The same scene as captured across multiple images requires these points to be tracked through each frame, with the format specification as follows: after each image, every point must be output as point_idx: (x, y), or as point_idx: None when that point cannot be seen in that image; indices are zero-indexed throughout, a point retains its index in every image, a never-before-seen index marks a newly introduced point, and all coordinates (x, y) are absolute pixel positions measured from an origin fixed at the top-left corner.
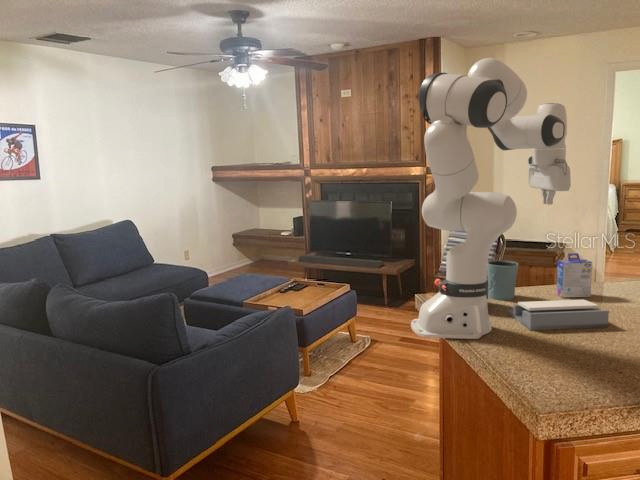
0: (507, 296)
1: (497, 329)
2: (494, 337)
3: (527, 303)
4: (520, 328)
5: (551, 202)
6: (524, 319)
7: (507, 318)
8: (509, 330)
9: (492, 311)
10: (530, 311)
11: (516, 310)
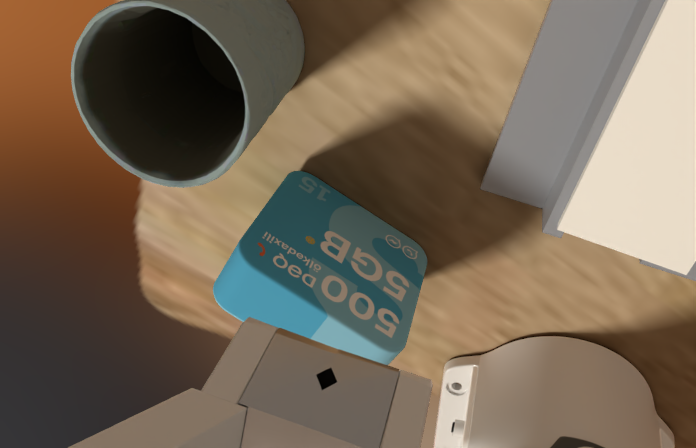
0: (300, 57)
1: (629, 337)
2: (690, 392)
3: (608, 217)
4: None
5: (419, 416)
6: None
7: None
8: (664, 313)
9: (434, 219)
10: None
11: None
